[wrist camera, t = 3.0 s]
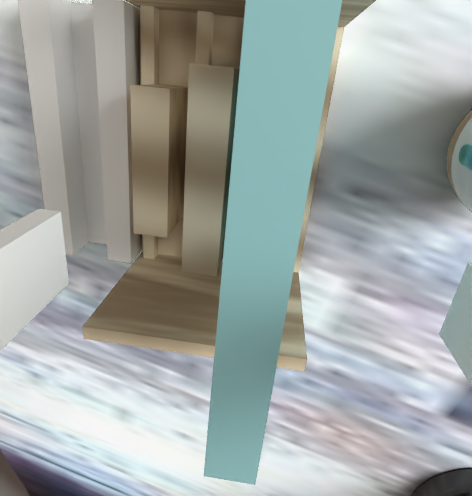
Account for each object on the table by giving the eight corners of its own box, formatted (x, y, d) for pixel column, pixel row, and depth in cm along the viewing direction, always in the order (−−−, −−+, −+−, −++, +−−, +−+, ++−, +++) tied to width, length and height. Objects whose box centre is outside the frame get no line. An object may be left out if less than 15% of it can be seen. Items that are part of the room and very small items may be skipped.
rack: (296, 274, 37) (304, 371, 24) (147, 254, 38) (83, 338, 25) (343, 14, 27) (395, -40, 15) (145, -5, 28) (44, -70, 16)
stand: (145, 245, 37) (131, 263, 33) (72, 235, 38) (50, 252, 34) (143, 11, 29) (123, 0, 25) (49, 2, 29) (16, -10, 26)
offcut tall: (232, 229, 34) (217, 276, 26) (205, 225, 34) (181, 271, 26) (247, 71, 28) (234, 67, 20) (214, 68, 28) (189, 63, 20)
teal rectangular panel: (269, 249, 34) (255, 484, 14) (247, 246, 34) (203, 475, 14) (297, 54, 28) (345, -17, 8) (270, 51, 28) (248, -26, 8)
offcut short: (188, 207, 33) (167, 237, 27) (161, 204, 34) (133, 233, 27) (193, 87, 29) (169, 88, 23) (162, 84, 29) (130, 84, 23)
